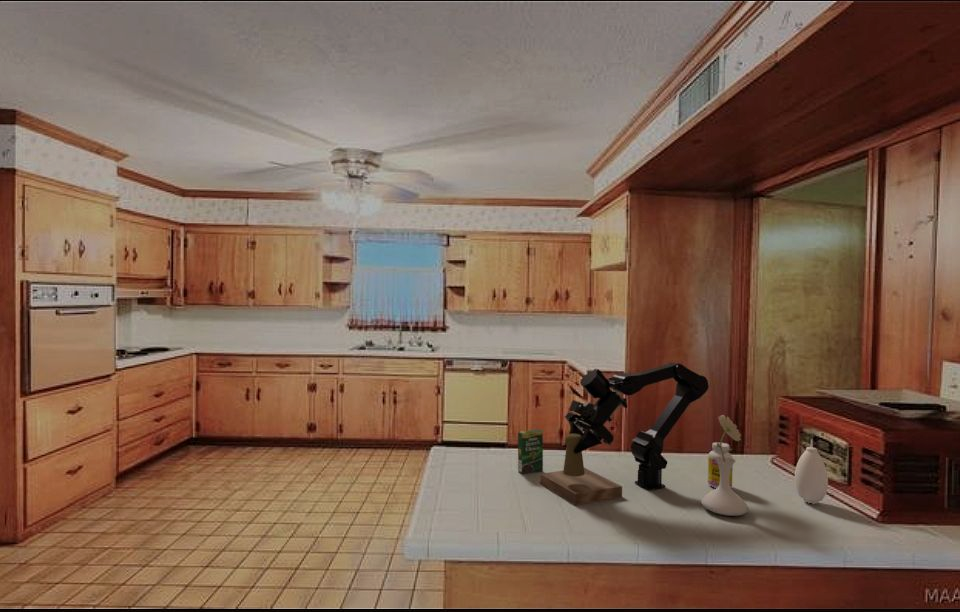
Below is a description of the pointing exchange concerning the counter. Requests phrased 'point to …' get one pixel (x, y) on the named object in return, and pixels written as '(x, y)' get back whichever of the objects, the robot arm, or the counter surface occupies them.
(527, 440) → the coffee box
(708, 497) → the flower in vase
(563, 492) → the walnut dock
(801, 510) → the counter surface
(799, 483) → the sauce bottle
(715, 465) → the supplement bottle
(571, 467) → the cork
